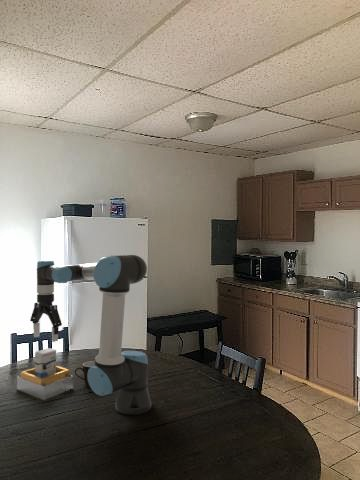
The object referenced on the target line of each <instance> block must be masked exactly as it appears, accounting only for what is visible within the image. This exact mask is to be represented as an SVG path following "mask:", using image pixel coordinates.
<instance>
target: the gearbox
mask: <svg viewBox="0 0 360 480" xmlns="http://www.w3.org/2000/svg"><path fill="white" fill-rule="evenodd" d="M16 380H17V381H16V384H17V386H16V390H18V391H20V392H23V393H25V394H28V395H30V396H32V397H35V398H37V399H40V400H42V401H45V400H48V399H50V398H53V397H56V396H58V395H60V394H62V393H63V394H64V393H66V392H68V391H70V389H71V390H73V389H74V375H72V374H71V373H70V369H68V368H65V367H62V366H57V365H56V373H55V374H52V375H50V376H47V377H44V378H40V377H37V376H35V367H33V368H30V369H26V370H24V371H21V372H20V374H19V375H18V376H17V377H16ZM65 391H66V392H65Z"/></svg>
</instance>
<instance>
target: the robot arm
mask: <svg viewBox="0 0 360 480" xmlns="http://www.w3.org/2000/svg"><path fill="white" fill-rule="evenodd" d="M146 263H147V262H146V261H145V260H144V258H142V257H141V256H139V255H137V254H126V255H124V254H123V255H107V256H104V257H101V258H100V259H99V260H98V261H97V262H92V263H81V264H78V263H77V264H67V265H63V264H62V265H55V262H54V260H52V259H51V260H49V259H41V260H38V261H37V266H36V293H37V295H36V302H34V303H33V304H34V305H33V309H32V313H31V316H30V322H31V323H32V325H33V338H38V337H40V336H41V335H40V334H41V333H40V332H41V331H40V325H41V324H40V320H41V318H42V316H43V315H46V316H48V318H49V321H50V322H51V325H52V327H51V342H52V343H53V342H58V341H59V327H61V326H63V323H62V320H61V317H60V316H61V315H60V314H59V311H58V305H57V304H53V302H54V301H55V283H58V284H66V283H68V282H75V281H88V280H93V281H94V282H95V284H96V286H98V288H99V289H98V290H99V291H100V292H101V294H102V304H101V305H102V306H101V319H100V333H99V347H98V351H99V352H98V354H97V355H96V356H95V357H94V361H95V364H94V366H92V367H91V368H90V369H89V370H88V373H87V378H88V383H89V385H90V387H89V388H91V390H92V392H94V393H95V394H96V395H98V396H102V397H103V396H106V395H111V394H113V393H115V392H117V391H118V393H117V397H116V399H115V407H114V408H115V410H116V411H117V412H118V413H120V414H122V415H127V416H128V415H130V416H131V415H132V416H133V415H134V416H135V415H141V414H145V413H146V412H149V411H150V410H151V408H152V399H151V397H150V393H149V389H148V377H149V376H148V374H149V372H148V371H149V369H148V367H149V362H148V361H149V360H148V355H147V354H146V353H145V352H143V351H137V350H124V351H122V348H123V346H122V345H123V334H124V320H125V319H124V318H125V305H126V296H127V294H129V292H130V289H131V288H130V287H131V285H133V284H137V283H140V282H141V281H142V280H144V279H145V277H146V275H147V271H148V267H147V264H146Z"/></svg>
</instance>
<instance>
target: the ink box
mask: <svg viewBox="0 0 360 480" xmlns="http://www.w3.org/2000/svg"><path fill="white" fill-rule="evenodd" d="M56 366H57V350H56V349H54V348H51V347H48V348H45V349H41V350H37V351H36V352H35V354H34V368H35V376H37V377H40V378H44V377H47V376H50V375H52V374H55V373H56Z"/></svg>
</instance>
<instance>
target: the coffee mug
mask: <svg viewBox="0 0 360 480" xmlns="http://www.w3.org/2000/svg"><path fill="white" fill-rule="evenodd" d="M94 364H95V360H90V361H85V362H84V363H82V367H77V368H76V369H75V370H74V374H75V376H77V378H80V379H81V380H82V381H84V385H85V387H87V388H91V387H90V385H89V383H88V378H87V373H88V370H89V369H90V368H91V367H92V366H94ZM77 370H81V371H82V372H83V377H82V376H80V375H78V373H77V372H78V371H77Z"/></svg>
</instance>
